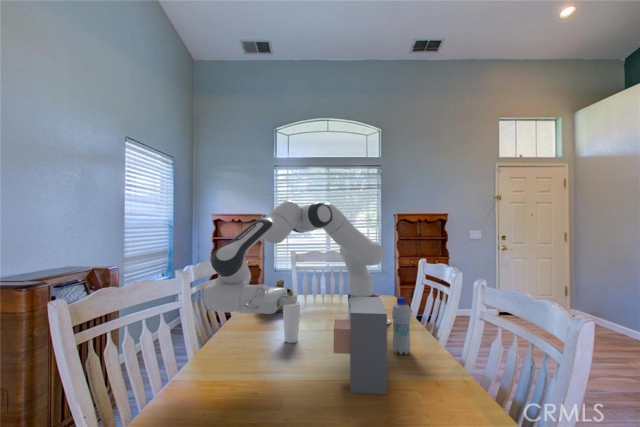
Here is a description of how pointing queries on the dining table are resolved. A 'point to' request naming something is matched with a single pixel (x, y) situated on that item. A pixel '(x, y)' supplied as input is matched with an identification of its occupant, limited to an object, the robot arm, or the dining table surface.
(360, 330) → the gray rectangular box
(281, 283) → the olive brown basket
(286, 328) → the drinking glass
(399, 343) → the bottle
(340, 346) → the pink rectangular block
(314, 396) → the dining table surface
